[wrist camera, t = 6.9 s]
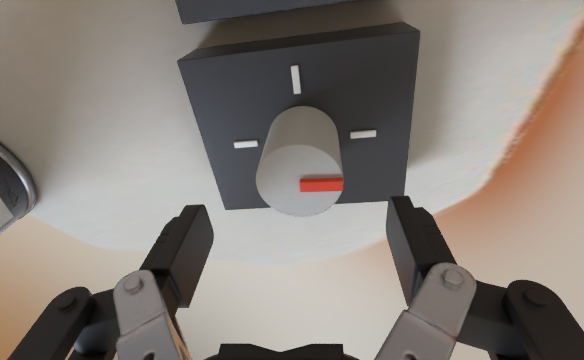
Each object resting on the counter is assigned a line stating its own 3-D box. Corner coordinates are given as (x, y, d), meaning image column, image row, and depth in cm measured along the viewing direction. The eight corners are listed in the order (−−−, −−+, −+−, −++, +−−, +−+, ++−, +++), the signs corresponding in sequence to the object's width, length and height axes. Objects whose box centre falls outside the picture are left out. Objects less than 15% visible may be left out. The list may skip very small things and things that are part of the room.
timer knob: (273, 169, 19) (261, 221, 15) (264, 107, 16) (247, 149, 12) (337, 167, 18) (343, 220, 14) (338, 103, 16) (344, 145, 12)
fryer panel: (234, 185, 23) (224, 211, 21) (195, 48, 18) (175, 61, 15) (393, 175, 22) (404, 202, 19) (405, 21, 16) (421, 31, 14)
